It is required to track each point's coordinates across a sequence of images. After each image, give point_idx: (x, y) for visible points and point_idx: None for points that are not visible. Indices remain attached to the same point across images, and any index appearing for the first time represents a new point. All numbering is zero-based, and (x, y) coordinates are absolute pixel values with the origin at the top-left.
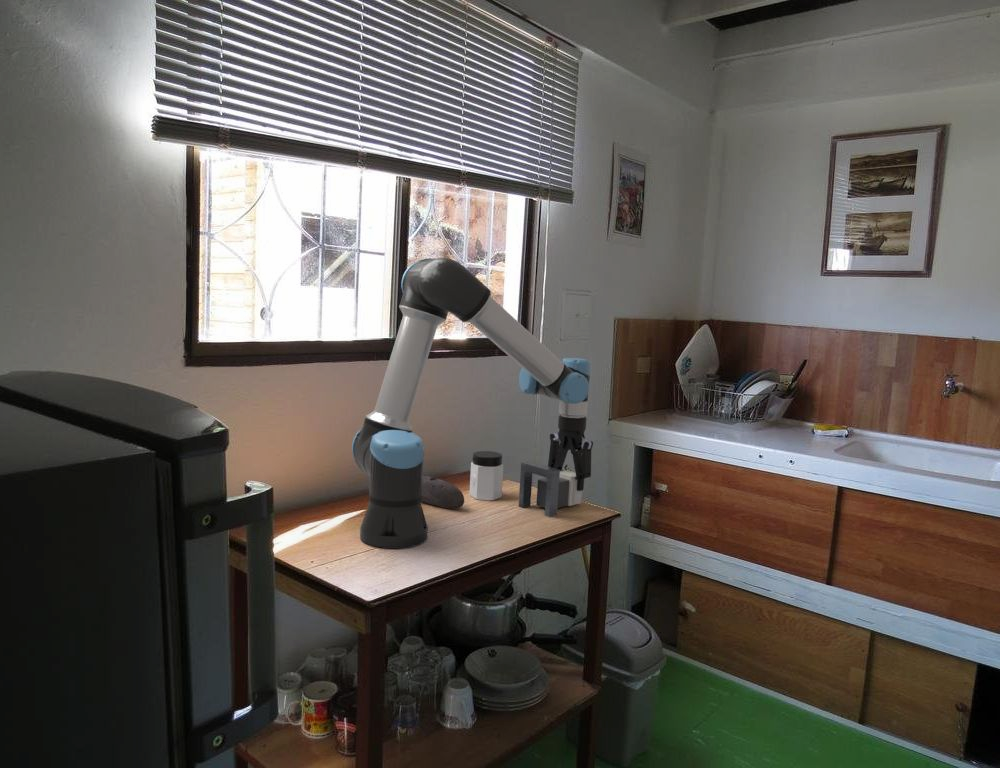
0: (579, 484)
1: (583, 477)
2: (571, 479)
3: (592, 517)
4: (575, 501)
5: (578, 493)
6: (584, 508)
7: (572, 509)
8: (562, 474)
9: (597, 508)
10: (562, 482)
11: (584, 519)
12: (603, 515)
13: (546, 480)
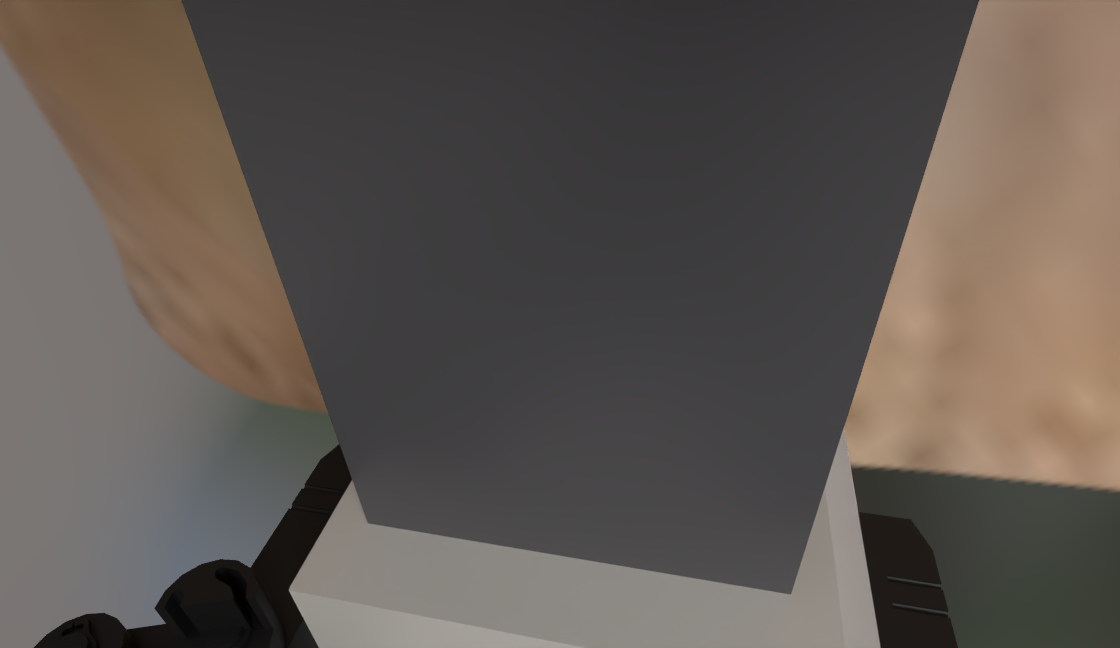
0: (300, 523)
1: (83, 631)
2: (328, 549)
3: (120, 155)
4: None
5: None
6: None
7: None
8: (552, 642)
9: None
10: (318, 337)
11: (56, 8)
12: (167, 291)
13: (632, 47)
